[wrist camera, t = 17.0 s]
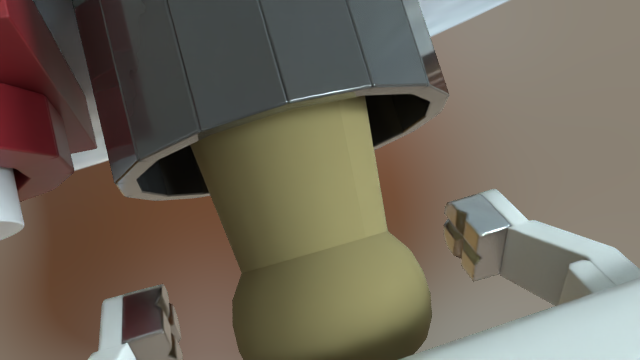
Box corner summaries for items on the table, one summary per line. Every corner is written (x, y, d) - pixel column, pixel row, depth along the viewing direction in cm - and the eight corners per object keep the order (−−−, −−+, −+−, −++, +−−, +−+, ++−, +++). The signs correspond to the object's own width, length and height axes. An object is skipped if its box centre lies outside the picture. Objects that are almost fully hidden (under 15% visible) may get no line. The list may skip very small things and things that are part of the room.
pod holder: (101, 65, 18) (137, 215, 17) (19, -144, 9) (83, 142, 8) (336, 29, 20) (375, 158, 19) (443, -158, 12) (520, 58, 11)
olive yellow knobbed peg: (237, 56, 19) (318, 351, 17) (86, 16, 13) (184, 434, 12) (377, -28, 15) (491, 324, 14) (251, -121, 10) (411, 419, 9)
